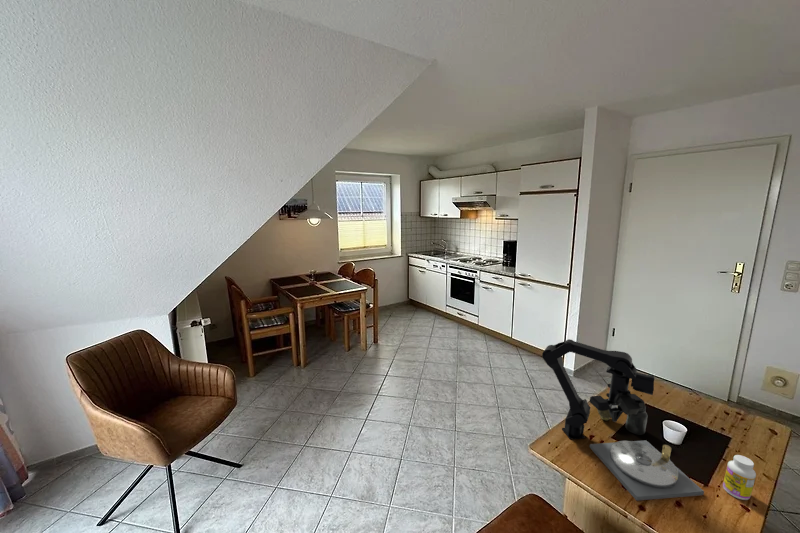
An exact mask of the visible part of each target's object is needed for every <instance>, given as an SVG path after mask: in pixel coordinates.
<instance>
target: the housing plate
mask: <svg viewBox="0 0 800 533" xmlns="http://www.w3.org/2000/svg"><path fill="white" fill-rule="evenodd" d="M632 441H633V440H632ZM616 442H617V441H616ZM616 442H602V443H590V444H589V448H590V449H591V450H592V452H593V453H594V454H595V455H596V456H597V457H598V458H599V460H600V461H601V462H602V463H603V465H605V467H606V468H607V469H608V470H609V471H610V472H611V473H612V475H613V476H614V477H615V478H616V479H617V480H618V481H619V482H620V484H621V485H622V486H623V487H624V488H625V489H626V491H628V493H629V494H630V496H632V497H633V498H634V500H635V501H637V502H638V501H646V500H647V501H649V500H650V501H651V500H662V499H673V498H685V497H696V496H704V494H705V490H703V489H702V488H701V487H700V486H699V485H698V484H697V483H695V481H693V480H692V479H691V478H689V476H687V475H686V474H685V473H684V472H683V471H682V470H681V469H680V468H679V467H677V466H676V468H677V470H678V479H677V483H676V484H675V485H674V486H672V487H670V488H656V487H651V486H648V485H645V484H642V483H640V482H638V481H635V480H634V479H632V478H630V477H628V476H627V475H625V474H624V473H623V472H622V471H620V470H619V469H618V468H617V467H616V465H615V464H614V463H613V461H612V459H611V456H610V452H611V447H612V445H613V444H614V443H616ZM633 442H638V443H641V444H644V445H647V446H649V447H651V448H653V449H655V450H657V451H659V450H658V449H657V448H655V446H653V445H652V444H651V443H650V442H649V441H647V439H646V440H634V441H633Z"/></svg>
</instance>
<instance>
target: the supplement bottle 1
mask: <svg viewBox="0 0 800 533" xmlns="http://www.w3.org/2000/svg"><path fill="white" fill-rule="evenodd" d="M646 409H647V406H646V405H645V406H644V408H643V409H642V411H638V412H637V414H630V415H626V421H625V428H626V430H627V431H628V432H629V433H631V434H634V435H637V436H643V435H644V434H645V433H646V428H647V423H648V413H647V412H646Z"/></svg>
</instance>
